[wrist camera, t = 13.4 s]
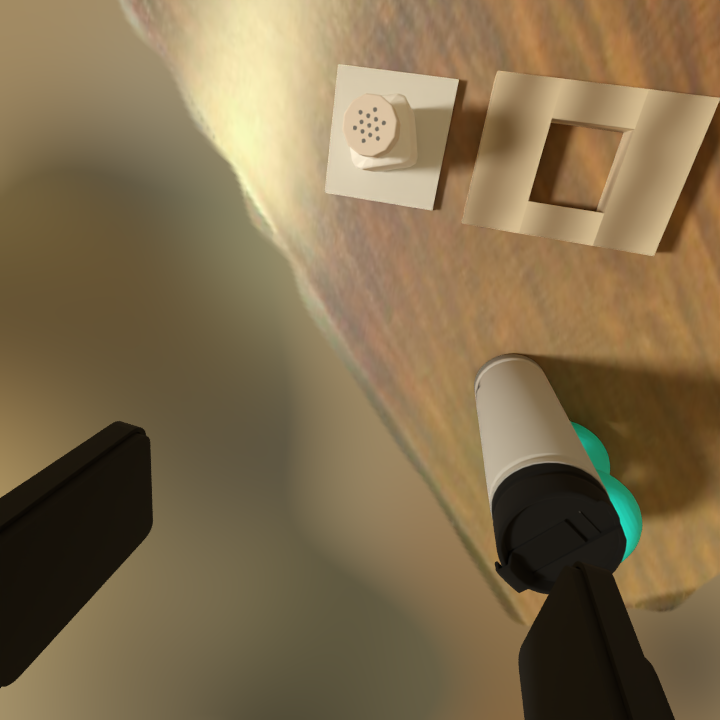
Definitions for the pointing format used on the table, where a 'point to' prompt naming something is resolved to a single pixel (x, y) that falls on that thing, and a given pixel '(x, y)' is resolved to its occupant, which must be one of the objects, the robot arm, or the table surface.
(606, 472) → the donuts
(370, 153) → the pepper shaker
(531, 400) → the travel mug
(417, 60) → the table surface
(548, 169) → the table surface
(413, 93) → the beige mat
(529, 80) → the socket block
